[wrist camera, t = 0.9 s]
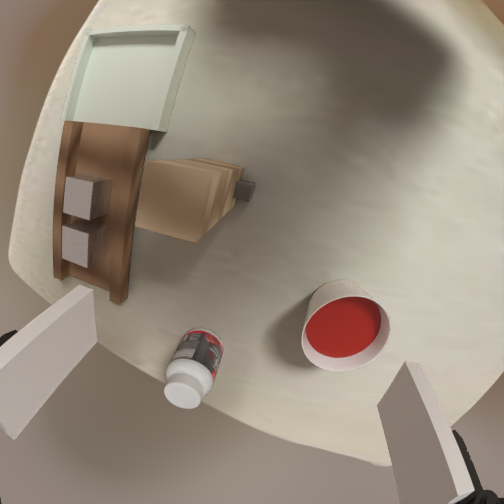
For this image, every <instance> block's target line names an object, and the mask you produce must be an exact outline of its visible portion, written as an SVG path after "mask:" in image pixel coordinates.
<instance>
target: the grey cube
mask: <svg viewBox="0 0 504 504" xmlns="http://www.w3.org/2000/svg"><path fill="white" fill-rule="evenodd" d="M112 186H113V178H108V177H103V176H98V175H93V174H88V173H86V174H79V175H73V176H66V183H65V193H64V206H63V213H67V214H70V215H73V216H77V217H80V218H83V219H87V220H92V219H94V218H97V217H99V216H102V215H105V214H107V213H109V210H110V201H111V193H112Z"/></svg>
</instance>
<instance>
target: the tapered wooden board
mask: <svg viewBox="0 0 504 504" xmlns="http://www.w3.org/2000/svg"><path fill="white" fill-rule="evenodd" d="M243 170H244V168H243V167H239V166H235V165H231V164H226V163H222V162H218V161H213V160H209V159H174V160H148V161H145V165H144V171H143V176H142V182H141V188H140V194H139V200H138V207H137V214H136V222H135V226H136V227H140V228H143V229H147V230H150V231H154V232H157V233H161V234H165V235H168V236H172V237H175V238H179V239H183V240H186V241H190V242H193V243H197V242H198V241H199V240H200V239H201V238H202V237H203V236H204V235H205V234H206V233H207V232H208V231H209V230H210V229H211V228H212V227H213V226H214V225H215V224H216V223H217V222H218V221H219V220H220V219H221V218H222V217H223V216H224V215H225V214H226V213H227V212H228V211H229V210H230V209H231V208H232V207H234V206H235V202H236V198H237V199H241V200H245V201H249V200H250V199H251V198H252V195H253V191H254V187H255V183H253V182H249V181H245V180H241V178H242V174H243Z"/></svg>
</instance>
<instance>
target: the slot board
mask: <svg viewBox="0 0 504 504" xmlns="http://www.w3.org/2000/svg"><path fill="white" fill-rule="evenodd" d="M149 134H150V129H144V128H137V127H128V126H119V125H110V124H100V123H89V122H78V121H65V122H64V127H63V133H62V139H61V145H60V151H59V158H58V166H57V174H56V184H55V196H54V213H53V270H54V277H55V278H57V279H59V280H63V279H65V278H66V277H68V276H69V275H72V276H74V277H76V278H79V279H81V280H84V281H86V282H89V283H91V284H94V285H96V286H99V287H101V288H104V289H107V290H109V291H110V301H112V302H115V303H117V304H121V303H122V302H123V301H124V300H125V299H126V298H127V294H128V278H129V265H130V254H131V244H132V235H133V226H134V219H135V211H136V204H137V198H138V191H139V185H140V179H141V174H142V168H143V163H144V158H145V153H146V148H147V143H148V139H149ZM86 173H88V174H93V175H98V176H103V177H108V178H113V186H112V193H111V201H110V210H109V213H107V214H105V215H102V216H99V217H97V218H94V219H92V221H95V222H99V223H102V224H106V225H108V230H107V242H106V257H104V258H102V259H101V260H99V261H98V262H96V263H95V264H93V265H91V266H90V267H88V268H86V267H83V266H81V265H78V264H75V263H73V262H70V261H68V260H65V259H63V258H62V225H65V224H67V223H70V222H73V221H75V220H78V219H81V218H80V217H77V216H73V215H70V214H67V213H63V206H64V193H65V183H66V176H73V175H79V174H86Z"/></svg>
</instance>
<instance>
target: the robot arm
mask: <svg viewBox="0 0 504 504" xmlns="http://www.w3.org/2000/svg"><path fill="white" fill-rule="evenodd" d="M97 342H98V339H97V330H96V321H95V309H94V294H93V289H90V288H87V287H84V286H82V285H78V286H77V287H76V288H74V289H73V290H72V291H70V292H69V293H67V294H66V295H65V296H63V297H62V298H61V299H59V300H58V301H57V302H55V303H54V304H53V305H51V306H50V307H49V308H48V309H46V310H45V311H44V312H42V313H41V314H40V315H39V316H37V317H36V318H35V319H33V320H32V321H31V322H30V323H29V324H27V325H26V326H25V327H23V328H22V329H21V330H20V331H19V332H18V331H16V330H14V331H11V332H9V333H6V334H4V335H3V336H1V337H0V429H1V430H2V431H4V432H5V433H6V434H7V435H8V436H10V437H11V438H12V439H14V440H15V439H16V438H17V436H18V435H19V434H20V433H21V431H22V430H23V429H24V427H25V426H26V425H27V424H28V422H29V421H30V420H31V418H32V417H33V416H34V415H35V414H36V412H37V411H38V410H39V409H40V408H41V406H42V405H43V404H44V403H45V401H46V400H47V399H48V398H49V397H50V395H51V394H52V393H53V392H54V391H55V389H56V388H57V387H58V386H59V385H60V384H61V382H62V381H63V380H64V379H65V378H66V376H67V375H68V374H69V373H70V372H71V371H72V370H73V369H74V367H75V366H76V365H77V364H78V363H79V362H80V361H81V359H82V358H83V357H84V356H85V355H86V354H87V353H88V352H89V350H90V349H91V348H92V347H93V346H94V345H95V344H96V343H97ZM377 407H378V411H379V415H380V418H381V422H382V426H383V429H384V433H385V437H386V441H387V445H388V449H389V454H390V458H391V462H392V466H393V471H394V475H395V480H396V485H397V490H398V494H399V500H400V504H504V498H498V497H497V495H496V494H495V493H494V492H493V491H490V490H483V488H482V486H481V483H480V481H479V478H478V475H477V473H476V470H475V467H474V465H473V462H472V461H471V460H470V455H469V452H468V451H467V448H466V445H465V443H464V441H463V439H462V438H461V436H460V435H459V434H458V433H457V432H456V431H455V430H453V431H452V430H451V428H450V426H449V424H448V421H447V419H446V417H445V415H444V413H443V410H442V408H441V406H440V404H439V402H438V400H437V398H436V396H435V394H434V392H433V389H432V387H431V385H430V383H429V381H428V379H427V378H426V376H425V374H424V372H423V370H422V368H421V366H420V364H419V363H417V362H407V361H405V362H404V363H403V365H402V367H401V369H400V370H399V372H398V374H397V375H396V377H395V379H394V380H393V382H392V383H391V385H390V387H389V388H388V390H387V391H386V393H385V394H384V396H383V398H382V399H381V401H380V402H379V403H378V405H377ZM0 504H1V499H0Z"/></svg>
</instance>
